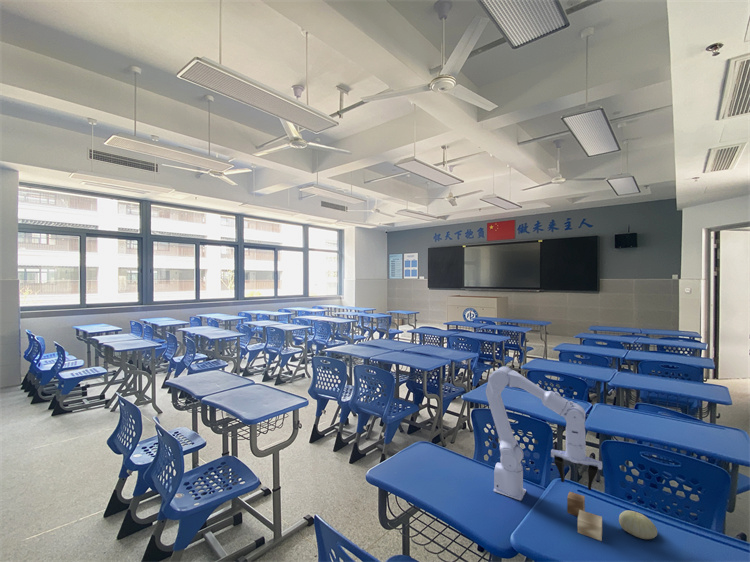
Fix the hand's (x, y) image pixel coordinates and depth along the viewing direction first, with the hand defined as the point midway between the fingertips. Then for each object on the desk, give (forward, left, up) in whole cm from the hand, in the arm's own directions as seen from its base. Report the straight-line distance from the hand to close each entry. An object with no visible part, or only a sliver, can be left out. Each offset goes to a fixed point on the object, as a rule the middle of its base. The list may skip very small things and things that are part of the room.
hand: (576, 484), depth 113 cm
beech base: (+4, -8, -9) cm, 13 cm away
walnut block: (0, 0, -9) cm, 9 cm away
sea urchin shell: (+16, +1, -9) cm, 18 cm away
